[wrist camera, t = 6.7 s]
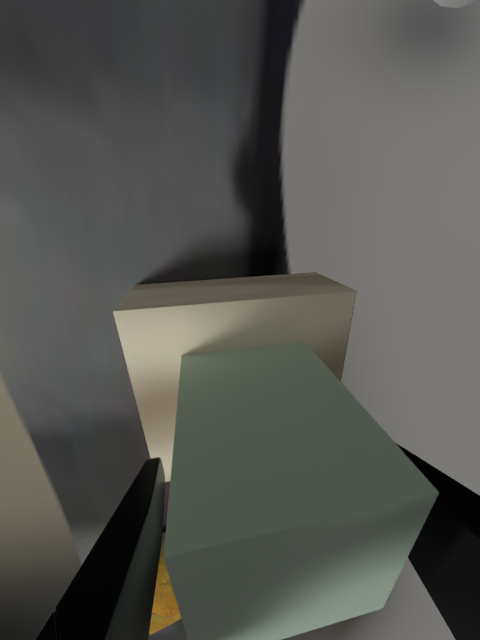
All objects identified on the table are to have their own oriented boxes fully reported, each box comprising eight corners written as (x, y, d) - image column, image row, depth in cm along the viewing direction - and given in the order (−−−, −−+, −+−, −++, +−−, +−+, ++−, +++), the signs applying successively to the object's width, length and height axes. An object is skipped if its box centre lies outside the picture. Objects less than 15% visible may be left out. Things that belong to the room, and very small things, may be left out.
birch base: (302, 404, 16) (328, 450, 13) (165, 426, 15) (157, 483, 12) (315, 272, 13) (356, 290, 9) (135, 284, 11) (113, 311, 8)
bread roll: (94, 574, 20) (73, 653, 16) (163, 514, 18) (155, 586, 15) (174, 590, 23) (170, 658, 20) (238, 540, 22) (246, 604, 18)
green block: (296, 429, 12) (382, 608, 6) (194, 447, 11) (195, 665, 6) (304, 341, 10) (439, 492, 4) (181, 355, 9) (163, 557, 4)
